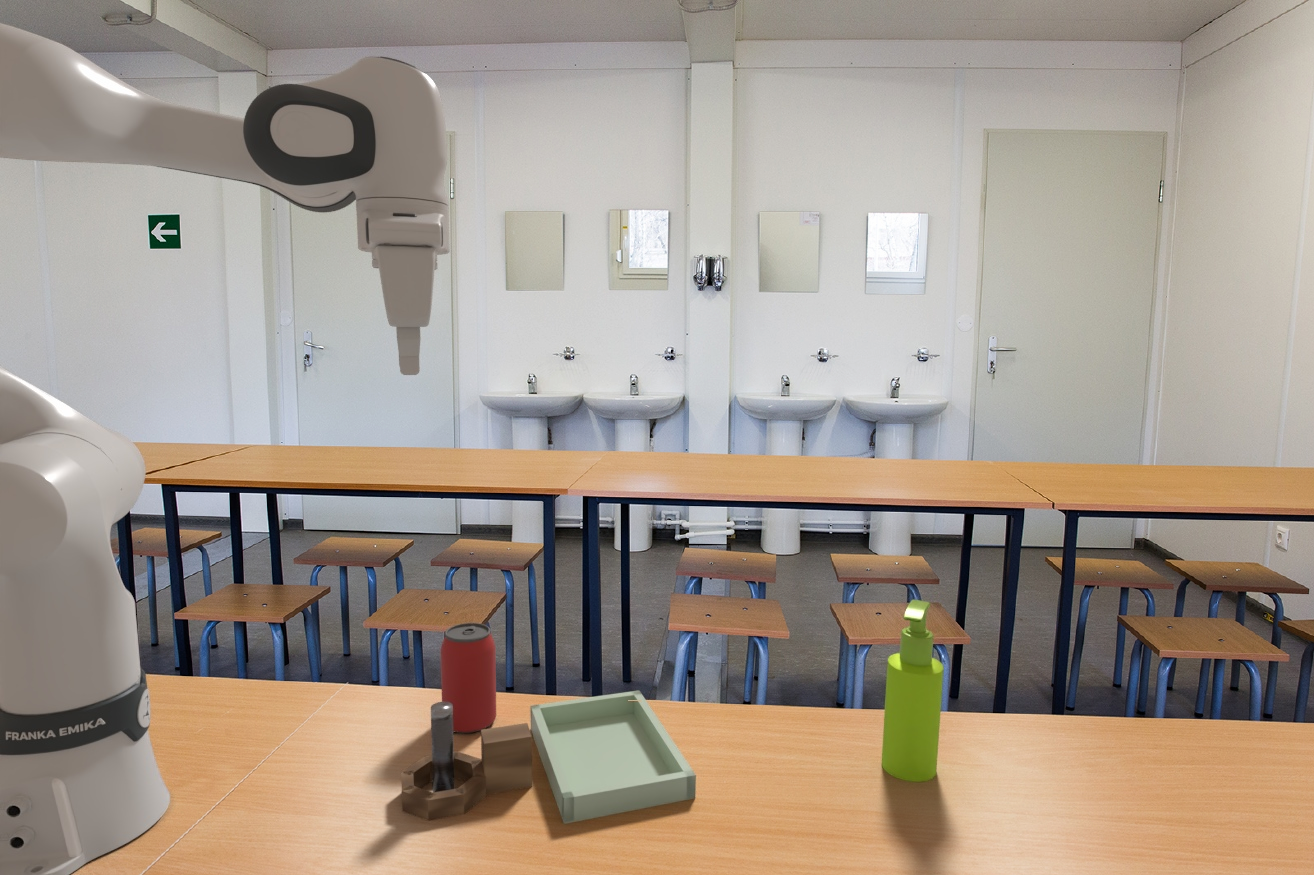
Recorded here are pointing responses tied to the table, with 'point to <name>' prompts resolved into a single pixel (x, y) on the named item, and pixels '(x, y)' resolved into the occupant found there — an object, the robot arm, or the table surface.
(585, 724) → the tray
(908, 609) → the soap dispenser
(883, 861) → the table surface
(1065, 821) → the table surface
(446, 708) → the dark grey metal cylinder
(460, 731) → the beer can
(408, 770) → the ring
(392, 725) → the table surface
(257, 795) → the table surface
